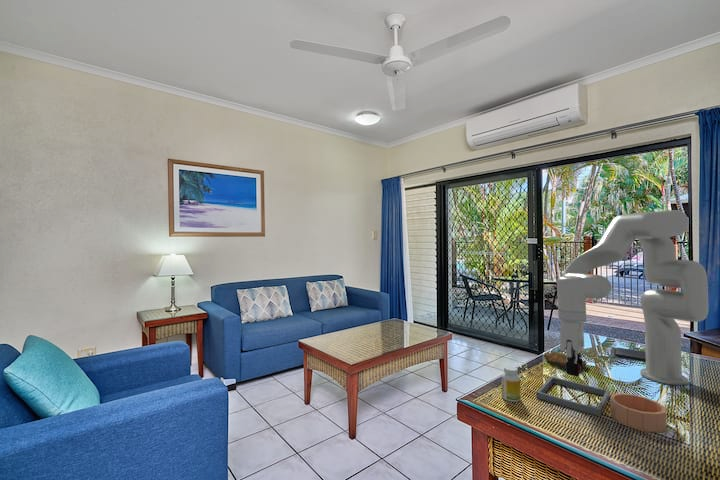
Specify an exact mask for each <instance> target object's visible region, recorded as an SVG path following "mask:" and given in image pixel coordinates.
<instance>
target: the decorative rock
mask: <svg viewBox="0 0 720 480" xmlns="http://www.w3.org/2000/svg"><path fill="white" fill-rule="evenodd" d="M543 357H544V358H545V360H546V361H547V362H550V363H553V364H554V365H556V366H558V367H559V366H562V367H564V368H566V354H563V353H559V352H557V351H551V352H550V353H549V352H545V353H543ZM586 366H587V361H586V360H583V359H582V367H583V370H582V372H584V371H585V368H586Z"/></svg>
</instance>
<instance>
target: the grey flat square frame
mask: <svg viewBox="0 0 720 480" xmlns="http://www.w3.org/2000/svg"><path fill="white" fill-rule="evenodd" d="M553 384H557V385H560V386H564V387H568V388H572V389H576V390H580V391H584V392H587V393H592V394H596V395H599V396H602V398H601V400H600V402H599V404H598V406H597V407H594V406H592V405H588V404H585V403H584V404H583V403H580V402H577V401H573V400H569V399H566V398H563V397H560V396H555V395H552V394H548V393H546V392H547V390H548V389H549V388H550V387H551V386H552V385H553ZM610 394H611V391H610V390H609V389H606V388H605V389H604V388H602V387H597V386H593V385H589V384H588V385H587V384H583V383H579V382H576V381H572V380H567V379H564V378H558V377H555V376H550V377H549V378H548V379H547V380H546V381H545V383H543V384H542V385H541V387H540V388H539V389H538V390H536V394H535V395H536V396H535V397H536V398H537V399H538V400H539V399H540V400H543V401H545V402H546V401H547V402H550V403H553V404H556V405H559V406H564V407H567V408H569V409H570V408H571V409H574V410H577V411H581V412H583V413H586V414H591V415H594V416H598V417H601V416H602V414H603V412H604V410H605V407H606V406H607V403H608V401H609V400H610V397H611V395H610Z"/></svg>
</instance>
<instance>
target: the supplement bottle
mask: <svg viewBox="0 0 720 480" xmlns="http://www.w3.org/2000/svg"><path fill="white" fill-rule="evenodd" d="M518 374H519V369H518V368H517V367H515V366H514V365H513V366H512V365H505V366H503V373H502V374H501V397H502V398H503V400H505V401H507V402H512V403H517V402H519V401H520V400H521V376H520V375H518Z"/></svg>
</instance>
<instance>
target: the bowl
mask: <svg viewBox="0 0 720 480" xmlns="http://www.w3.org/2000/svg"><path fill="white" fill-rule="evenodd" d="M609 409H610V411H609V413H610V415H611V417H612V418H613V420H615V421H616V422H617V423H620V424H621V425H623V426H626V427H627V428H629V429H630V428H631V429H634V430H637V431H641V432H647V433H654V434H655V433H656V434H657V433H664V432H666V431H667V408H666V406H664V405H663V404H661V403H660V402H659V401H656V400H653V399H651V398H648V397H646V396H642V395H638V394H632V393H623V392H619V393H612V394H611V395H610V397H609Z"/></svg>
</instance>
